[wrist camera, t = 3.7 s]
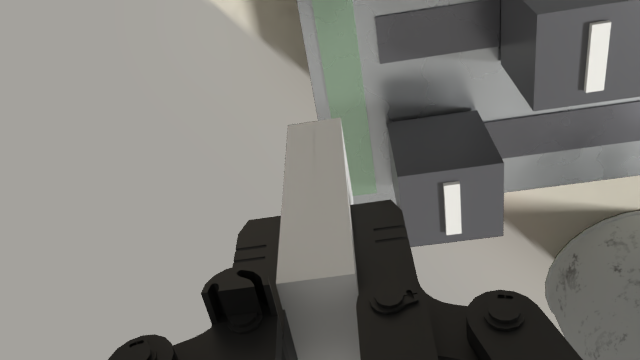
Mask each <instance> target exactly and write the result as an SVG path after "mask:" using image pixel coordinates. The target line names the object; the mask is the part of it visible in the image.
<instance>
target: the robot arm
mask: <svg viewBox="0 0 640 360" xmlns="http://www.w3.org/2000/svg"><path fill="white" fill-rule="evenodd" d="M201 295H202V298H203V300H204V303H205V306H206V308H207V312H208V314H209V317H210V320H211V323H212V327H211V328H210V329H208V330H207V331H206V332H204V333H203V334H200V335H198V336H197V337H195V338H192V339H189V340H187V341H184V342H181V343H179V344H176V345H173V346H172V344H171V343H170V342H169V341H168V340H167V339H166V338H165V337H162V336H158V335H145V336H140V337H138V338H135V339H132V340H130V341H128V342H127V343H125V344H124V345H122V346H121V347H119V348H118V349H117V350H116V351H115V352H114V353H113V354H112V356H111V357H110V358H109V359H108V360H583V359H582V358H581V357H580V356H579V354H578V353H577V352H576V351H575V350H574V348H573V347H572V346H571V345H570V344H569V342H568V341H567V340H566V339H565V338H564V336H563V335H562V334H561V333H560V332H559V331H558V329H557V328H556V327H555V326H554V325H553V323H552V322H551V321H550V320H549V319H548V317H547V316H546V315H545V314H544V313H543V311H542V310H541V309H540V308H539V307H538V305H537V304H535V303H534V302H533V301H532V300H530V299H529V298H528V297H526V296H524V295H521V294H519V293H516V292H513V291H505V290H496V291H490V292H485V293H483V294H481V295H479V296H477V297H475V299H473V301H472V302H471V303H470V304H469V305H468V306H461V305H453V304H448V303H444V302H441V301H438V300H436V299H433V298H432V297H430V296H429V295H428V294H426V293H425V292H424V290H423V289H422V288H421V287H420V284H419V282H418V279H417V275H416V270H415V266H414V262H413V257H412V253H411V248H410V244H409V239H408V235H407V230H406V227H405V221H404V217H403V212H402V210H401V209H400V208H399V207H398V206H397V205H396V204H395V203H394V202H393V201H392V200H391V199H390V200H383V201H375V202H368V203H361V204H354V203H353V195H352V188H351V182H350V176H349V169H348V163H347V156H346V150H345V143H344V137H343V130H342V124H341V117H340V118H333V119H327V120H320V121H313V122H306V123H300V124H293V125H288V132H287V145H286V158H285V171H284V184H283V197H282V210H281V216H276V217H269V218H262V219H254V220H249V221H248V222H247V223H246V225H245V226H244V227H243V229H242V230H241V231H240V233H239V234H238V239H237V245H236V252H235V257H234V263H233V267H232V268H229V269H226V270H224V271H222V272H220V273H218V274H216V275H215V276H214V277H212V278H211V279H210V280H209V281H208V282H207V283H206V284H205V286H204V288H203V290H202V292H201Z"/></svg>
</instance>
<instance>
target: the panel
mask: <svg viewBox="0 0 640 360" xmlns="http://www.w3.org/2000/svg"><path fill="white" fill-rule="evenodd" d="M297 5H298V11H299V16H300V22H301V28H302V33H303V39H304V44H305V50H306V56H307V61H308V67H309V72H310V78H311V83H312V89H313V94H314V100H315V106H316V112H317V117H318V121H320V120H327V119H333V118H340V117H341V124H342V130H343V137H344V143H345V150H346V156H347V163H348V169H349V176H350V182H351V188H352V195H353V203H354V204H361V203H368V202H375V201H383V200H390V199H391V200H392V201H393V202H394V203H395V204H396V199H395V193H394V188H393V179H392V170H391V161H390V152H389V142H388V133H387V124H386V123H389V122H396V121H403V120H410V119H417V118H425V117H432V116H439V115H446V114H453V113H460V112H467V111H475V110H477V111H478V113H479V115H480V117H481V119H482V121H483V122H484V124H485V126H486V128H487V130H488V132H489V134H490V136H491V138H492V140H493V142H494V144H495V146H496V148H497V150H498V152H499V154H500V156H501V158H502V160H503V162H504V193H505V192H513V191H520V190H528V189H536V188H544V187H552V186H560V185H568V184H575V183H583V182H591V181H599V180H607V179H615V178H623V177H630V176H638V175H640V97H634V98H627V99H620V100H612V101H605V102H598V103H591V104H583V105H576V106H569V107H562V108H555V109H547V110H540V111H533V110H532V109H531V107H530V106H529V104H528V103H527V102H526V100H525V99H524V97H523V96H522V94H521V93H520V91H519V90H518V89H517V87H516V86H515V84H514V83H513V81H512V80H511V78H510V77H509V75H508V74H507V73H506V71H505V70H504V68H503V67H502V65H501V0H297ZM396 205H397V204H396Z"/></svg>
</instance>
